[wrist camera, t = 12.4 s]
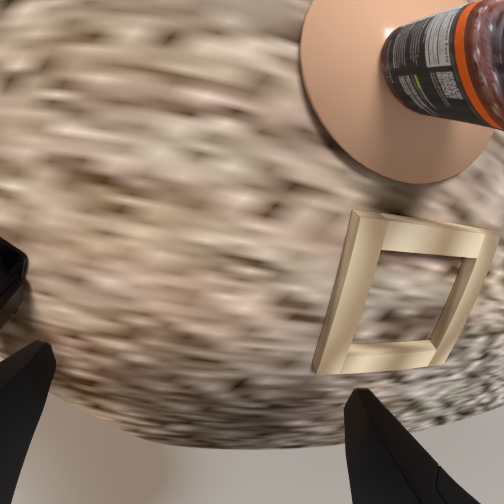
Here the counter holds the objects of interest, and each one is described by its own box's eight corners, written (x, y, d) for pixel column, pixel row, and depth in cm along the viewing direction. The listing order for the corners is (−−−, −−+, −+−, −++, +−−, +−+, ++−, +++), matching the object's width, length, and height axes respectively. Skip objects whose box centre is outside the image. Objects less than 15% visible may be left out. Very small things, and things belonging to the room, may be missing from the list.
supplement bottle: (467, 65, 15) (607, 76, 5) (433, 133, 17) (577, 185, 7) (399, 5, 13) (537, -39, 3) (359, 77, 16) (507, 70, 5)
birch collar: (312, 362, 26) (316, 374, 24) (352, 209, 20) (360, 217, 19) (436, 354, 27) (443, 364, 26) (489, 229, 21) (500, 237, 20)
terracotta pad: (247, 85, 16) (248, 84, 16) (374, -69, 11) (380, -74, 11) (425, 220, 21) (432, 225, 20) (515, 75, 16) (523, 76, 15)
